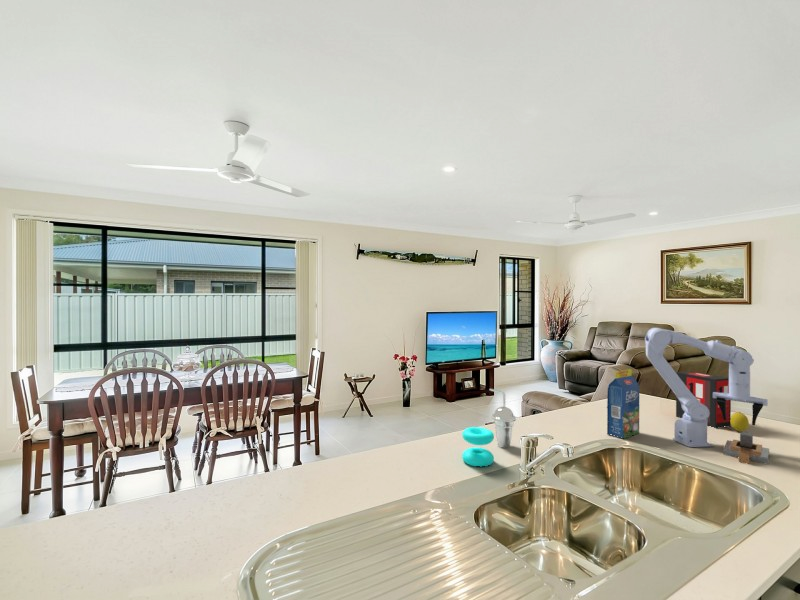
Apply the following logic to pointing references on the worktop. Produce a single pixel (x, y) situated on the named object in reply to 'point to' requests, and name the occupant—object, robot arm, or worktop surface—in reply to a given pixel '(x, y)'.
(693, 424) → the robot arm
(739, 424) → the lemon
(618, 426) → the blue food package
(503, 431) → the cup with straw
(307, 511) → the worktop surface
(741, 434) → the dark grey rectangular block
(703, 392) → the cleaning product box
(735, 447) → the grey and brown socket
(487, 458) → the donuts
